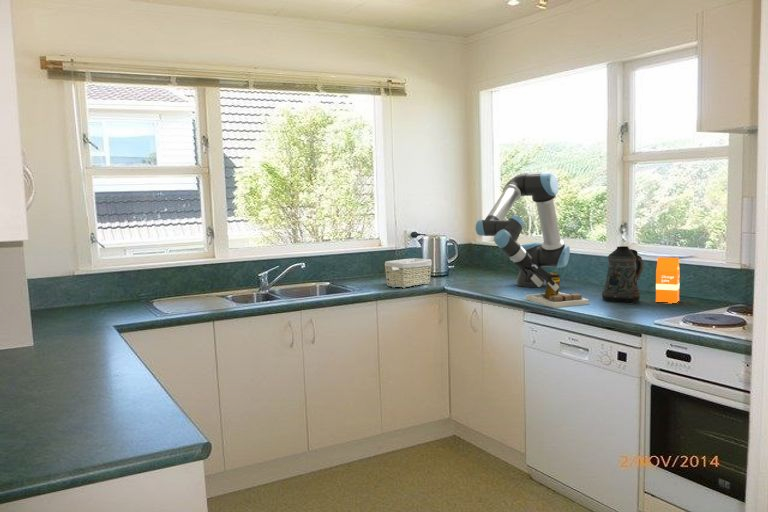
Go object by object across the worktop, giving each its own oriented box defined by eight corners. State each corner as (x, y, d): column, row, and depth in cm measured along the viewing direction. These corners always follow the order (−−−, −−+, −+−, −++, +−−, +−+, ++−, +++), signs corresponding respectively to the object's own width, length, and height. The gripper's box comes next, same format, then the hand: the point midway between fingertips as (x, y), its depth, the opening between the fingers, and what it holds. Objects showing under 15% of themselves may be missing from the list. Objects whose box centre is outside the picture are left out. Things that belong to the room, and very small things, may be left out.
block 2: (559, 303, 283) (559, 295, 283) (566, 302, 285) (565, 294, 285) (565, 305, 280) (565, 296, 279) (572, 304, 281) (572, 295, 281)
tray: (525, 300, 298) (525, 295, 298) (558, 297, 304) (558, 291, 303) (554, 308, 275) (554, 303, 275) (589, 305, 281) (589, 299, 281)
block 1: (549, 304, 282) (549, 296, 282) (557, 303, 283) (557, 295, 283) (554, 306, 278) (554, 297, 278) (562, 305, 280) (562, 296, 279)
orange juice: (677, 303, 277) (677, 258, 275) (655, 302, 282) (656, 258, 280) (679, 300, 284) (680, 257, 282) (658, 299, 288) (658, 256, 286)
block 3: (569, 302, 285) (569, 294, 285) (577, 302, 286) (577, 293, 286) (573, 304, 282) (573, 295, 281) (581, 303, 282) (581, 294, 282)
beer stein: (596, 302, 288) (596, 248, 285) (611, 295, 302) (612, 244, 300) (633, 305, 277) (633, 249, 274) (647, 298, 292) (647, 245, 289)
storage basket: (413, 282, 371) (413, 257, 369) (433, 284, 359) (433, 258, 357) (383, 287, 355) (383, 261, 353) (403, 290, 343) (402, 263, 341)
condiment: (558, 301, 290) (561, 276, 287) (539, 298, 292) (542, 274, 289) (558, 296, 297) (561, 272, 293) (540, 293, 299) (543, 269, 296)
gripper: (501, 260, 298) (529, 289, 304) (529, 266, 274) (559, 297, 281) (511, 248, 299) (539, 277, 305) (540, 253, 276) (569, 284, 282)
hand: (549, 287), depth 293 cm, fingers open, 13 cm apart
